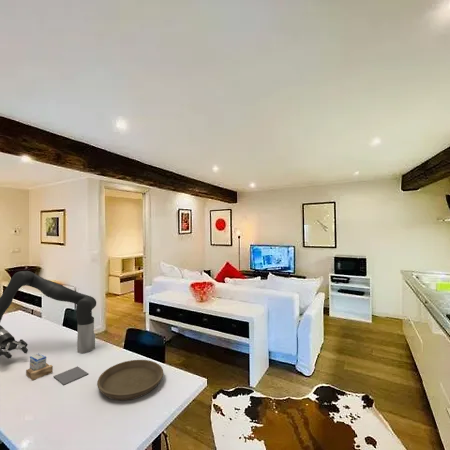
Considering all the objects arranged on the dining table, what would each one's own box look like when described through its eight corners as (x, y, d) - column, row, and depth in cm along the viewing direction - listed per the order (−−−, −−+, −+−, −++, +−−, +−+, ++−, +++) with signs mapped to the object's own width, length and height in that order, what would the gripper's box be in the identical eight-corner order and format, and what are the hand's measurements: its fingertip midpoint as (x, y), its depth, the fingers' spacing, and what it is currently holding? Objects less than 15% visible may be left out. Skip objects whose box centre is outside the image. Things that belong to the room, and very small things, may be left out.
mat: (77, 367, 144) (77, 366, 144) (88, 374, 137) (88, 373, 137) (53, 377, 134) (53, 376, 134) (63, 385, 127) (63, 384, 127)
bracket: (46, 367, 144) (46, 361, 144) (52, 372, 139) (52, 365, 139) (26, 374, 136) (26, 368, 136) (32, 380, 131) (32, 373, 131)
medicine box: (29, 372, 139) (29, 356, 139) (38, 368, 143) (38, 352, 143) (36, 376, 135) (37, 359, 135) (46, 372, 139) (46, 356, 139)
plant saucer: (175, 377, 135) (175, 369, 135) (126, 413, 108) (126, 402, 109) (135, 362, 151) (135, 354, 151) (83, 390, 124) (83, 380, 124)
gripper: (-9, 336, 144) (7, 352, 138) (18, 329, 157) (34, 344, 152) (-15, 348, 144) (1, 365, 139) (13, 340, 158) (29, 356, 152)
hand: (18, 354), depth 145 cm, fingers open, 8 cm apart
